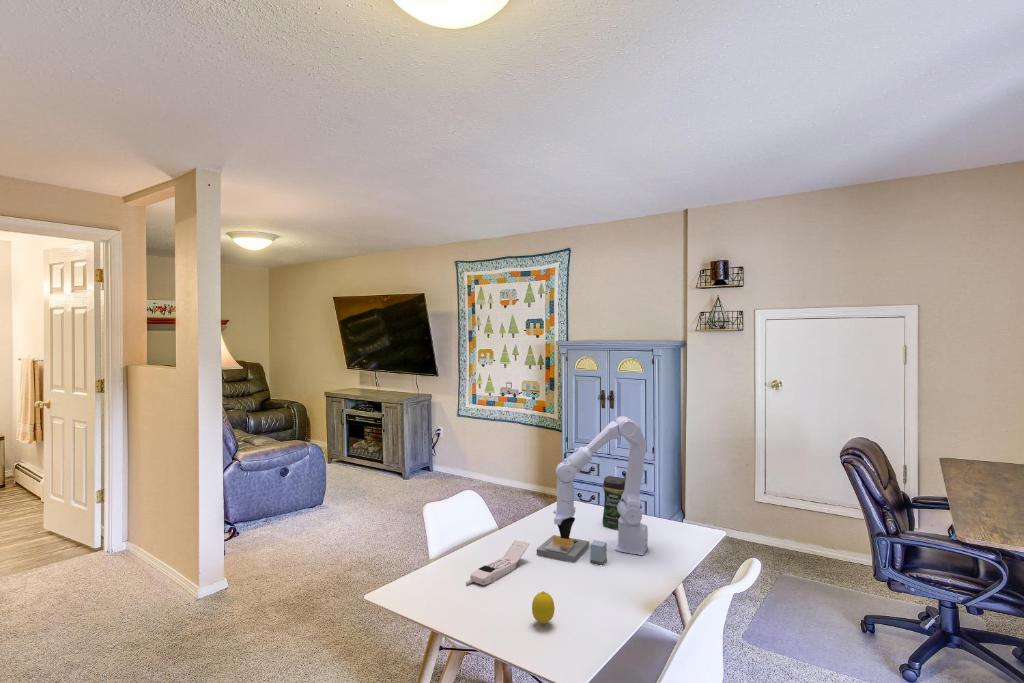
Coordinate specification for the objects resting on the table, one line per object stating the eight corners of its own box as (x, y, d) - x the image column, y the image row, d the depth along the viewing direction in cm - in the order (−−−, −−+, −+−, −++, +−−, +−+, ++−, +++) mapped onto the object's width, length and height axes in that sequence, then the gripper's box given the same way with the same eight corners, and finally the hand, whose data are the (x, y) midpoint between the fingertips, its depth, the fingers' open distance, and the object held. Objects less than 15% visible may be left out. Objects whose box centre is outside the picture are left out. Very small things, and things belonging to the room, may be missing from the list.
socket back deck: (581, 555, 173) (581, 548, 173) (574, 562, 166) (574, 556, 166) (545, 548, 178) (545, 542, 178) (536, 555, 172) (536, 549, 172)
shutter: (574, 545, 175) (574, 539, 175) (566, 553, 168) (566, 547, 168) (553, 541, 178) (553, 535, 178) (544, 549, 171) (544, 542, 171)
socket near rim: (587, 548, 178) (587, 542, 178) (581, 555, 173) (581, 548, 173) (577, 546, 180) (577, 540, 180) (571, 553, 174) (571, 547, 174)
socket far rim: (561, 543, 182) (561, 538, 182) (554, 549, 177) (554, 543, 177) (551, 542, 184) (551, 536, 184) (545, 548, 178) (545, 542, 178)
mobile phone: (531, 543, 168) (480, 569, 148) (531, 562, 168) (480, 590, 148) (515, 539, 171) (463, 564, 151) (515, 557, 171) (464, 585, 151)
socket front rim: (589, 547, 179) (589, 541, 179) (587, 548, 178) (587, 542, 178) (553, 540, 185) (553, 534, 185) (551, 542, 184) (551, 536, 184)
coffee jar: (599, 526, 200) (599, 477, 200) (608, 520, 206) (608, 473, 206) (623, 531, 194) (624, 481, 194) (632, 525, 201) (632, 476, 201)
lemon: (553, 618, 133) (553, 586, 133) (555, 630, 127) (555, 596, 127) (531, 618, 133) (531, 586, 133) (532, 630, 127) (532, 597, 127)
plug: (606, 561, 168) (606, 542, 168) (602, 566, 164) (602, 546, 164) (594, 558, 170) (594, 540, 170) (590, 563, 166) (590, 544, 166)
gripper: (561, 492, 185) (561, 531, 185) (545, 503, 173) (545, 545, 172) (581, 494, 182) (580, 534, 182) (566, 506, 169) (565, 548, 169)
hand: (565, 539), depth 177 cm, fingers closed
